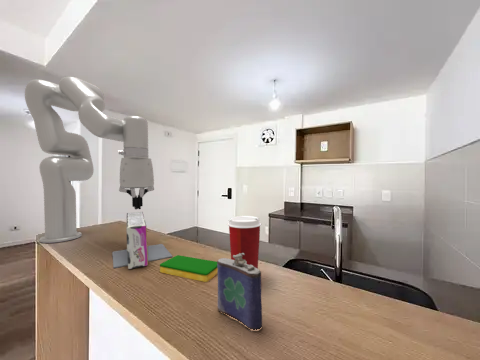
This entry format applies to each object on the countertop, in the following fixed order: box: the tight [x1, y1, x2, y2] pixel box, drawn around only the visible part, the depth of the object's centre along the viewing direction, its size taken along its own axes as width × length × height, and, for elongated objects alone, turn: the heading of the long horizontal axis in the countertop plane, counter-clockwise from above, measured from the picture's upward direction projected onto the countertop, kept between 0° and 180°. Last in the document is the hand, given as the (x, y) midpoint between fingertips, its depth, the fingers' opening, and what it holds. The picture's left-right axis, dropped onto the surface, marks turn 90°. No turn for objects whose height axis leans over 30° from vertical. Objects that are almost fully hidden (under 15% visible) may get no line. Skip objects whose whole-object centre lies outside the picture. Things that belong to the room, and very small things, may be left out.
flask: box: [216, 253, 263, 330], centre depth 37 cm, size 9×3×11 cm, turn 48°
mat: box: [111, 243, 173, 269], centre depth 67 cm, size 14×15×1 cm
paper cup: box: [226, 215, 262, 269], centre depth 50 cm, size 8×8×14 cm
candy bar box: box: [125, 211, 149, 270], centre depth 64 cm, size 11×5×16 cm
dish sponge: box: [159, 254, 218, 283], centre depth 55 cm, size 7×14×2 cm, turn 67°
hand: (137, 208), depth 74 cm, fingers closed
